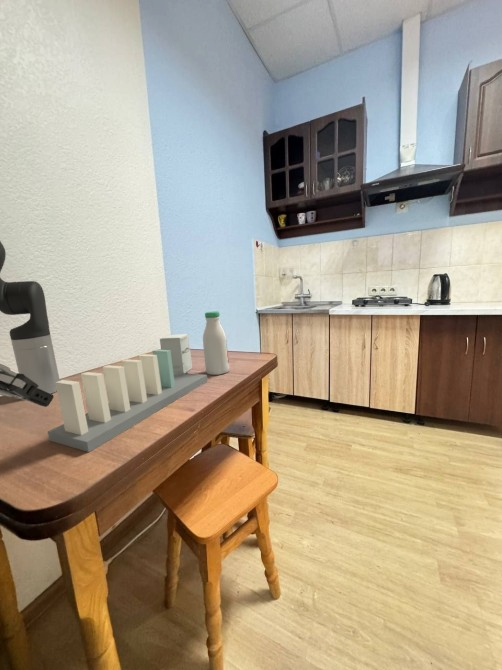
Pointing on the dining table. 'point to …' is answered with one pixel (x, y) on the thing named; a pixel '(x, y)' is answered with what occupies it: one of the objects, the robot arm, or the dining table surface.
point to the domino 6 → (165, 368)
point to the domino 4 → (135, 380)
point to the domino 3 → (116, 388)
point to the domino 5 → (151, 373)
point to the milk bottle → (215, 345)
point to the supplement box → (178, 351)
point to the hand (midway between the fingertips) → (48, 401)
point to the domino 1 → (72, 406)
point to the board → (126, 415)
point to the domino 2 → (96, 396)
